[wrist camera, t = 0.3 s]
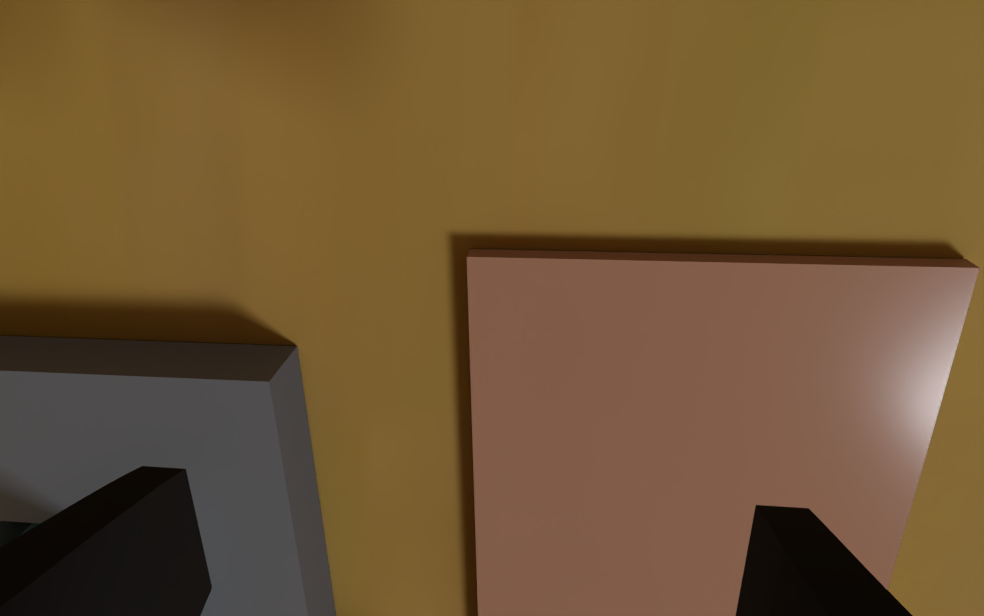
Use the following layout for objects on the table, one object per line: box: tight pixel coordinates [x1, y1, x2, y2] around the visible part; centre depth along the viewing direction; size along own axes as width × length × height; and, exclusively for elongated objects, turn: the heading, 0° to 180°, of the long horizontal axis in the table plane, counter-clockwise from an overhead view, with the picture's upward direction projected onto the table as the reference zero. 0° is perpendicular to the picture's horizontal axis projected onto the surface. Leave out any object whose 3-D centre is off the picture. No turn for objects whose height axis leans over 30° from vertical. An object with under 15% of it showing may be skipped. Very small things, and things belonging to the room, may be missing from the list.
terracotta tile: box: [467, 249, 979, 616], centre depth 20 cm, size 16×12×1 cm
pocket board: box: [0, 336, 336, 616], centre depth 23 cm, size 18×14×2 cm
